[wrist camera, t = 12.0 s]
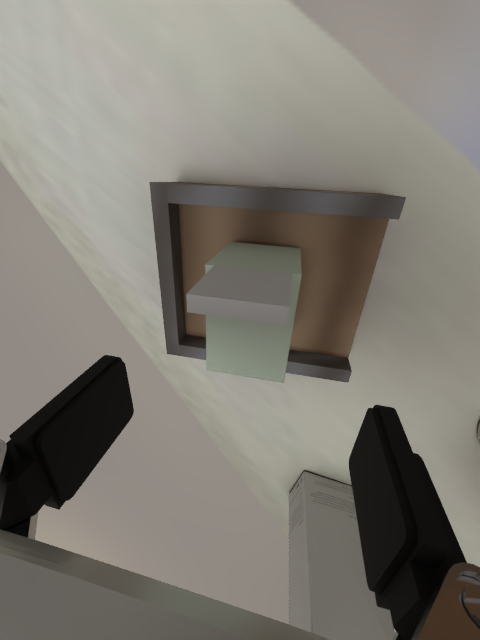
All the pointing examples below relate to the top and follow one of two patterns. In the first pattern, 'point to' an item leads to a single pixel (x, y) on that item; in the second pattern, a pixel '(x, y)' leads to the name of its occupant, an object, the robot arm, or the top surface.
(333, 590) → the skincare box
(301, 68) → the top surface
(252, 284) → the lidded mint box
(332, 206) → the brown wooden tray
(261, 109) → the top surface
